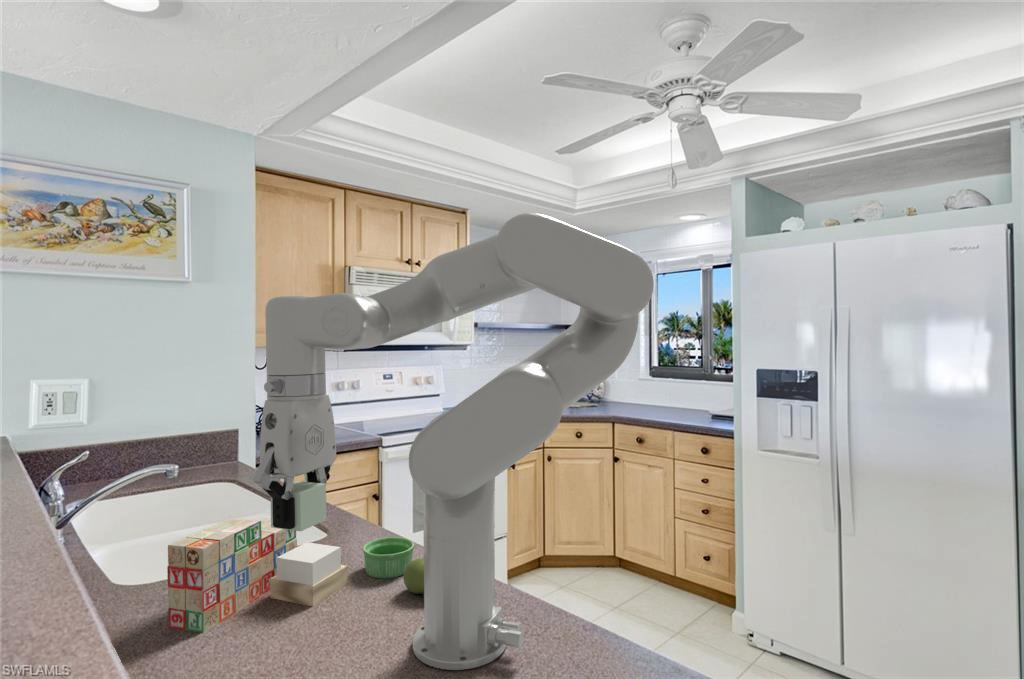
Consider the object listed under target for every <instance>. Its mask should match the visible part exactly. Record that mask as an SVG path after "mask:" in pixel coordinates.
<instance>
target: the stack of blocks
mask: <svg viewBox="0 0 1024 679" xmlns="http://www.w3.org/2000/svg"><path fill="white" fill-rule="evenodd" d="M296 547H298V538H297V531H294V530H286V529H279V528H271V518H265V519H263V520H261V519H249V518H236V517H228V518H226V519H223V520H222V521H220V522H219V521H218V522H217V523H215V524H213V525H210V526H208V527H205V528H203V529H202V530H198V532H195V533H193V534H190V535H188V536H185V537H183V538H180V539H178V540H175V541H174V542H171V543H168V545H167V556H168V557H167V564H168V565H167V572H166V573H167V591H168V592H167V593H168V594H167V596H168V608H167V609H168V610H167V611H168V628H170V629H175V630H183V631H190V632H197V633H202V634H203V633H205V632H206V631H209V630H210V629H211V628H213V627H214V626H216V625H218V624H220V623H222V622H224V620H227V619H228V618H230V617H231V616H232V615H234V614H235V613H238V612H239V611H240V610H242V609H243V608H245V607H247V606H248V605H250V603H252V602H253V601H255V600H257V599H258V598H260V597H261V596H262V595H264V594H265V593H267V592H268V591H270V578H272V577H274V576H276V575H277V557H279V556H281V555H283V554H285V553H287V552H289V551H290V550H292V549H294V548H296Z"/></svg>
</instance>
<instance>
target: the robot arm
mask: <svg viewBox="0 0 1024 679" xmlns="http://www.w3.org/2000/svg"><path fill="white" fill-rule="evenodd" d="M654 286H655V285H654V276H653V273H652V270H651V268H650V265H649V264H648V263H647V262H646V261H645V260H644V258H642V256H640V255H639V254H638V253H636V252H635V251H633V250H631V249H630V248H628V247H625V246H623V245H621V244H618V243H615V242H613V241H611V240H607V239H605V238H603V237H601V236H598V235H596V234H593V233H591V232H588V231H585V230H583V229H580V228H579V227H576V226H574V225H571V224H569V223H566V222H564V221H562V220H559V219H557V218H554V217H552V216H548V215H545V214H542V213H538V212H525V213H524V212H523V213H521V214H517V215H515V216H513V217H511V218H510V219H508V220H507V221H505V223H504V224H503V225H502V226H501V227H500V229H499V232H498V233H497V234H493V235H491V236H489V237H487V238H484V239H481V240H478V241H476V242H473V243H470V244H468V245H464V246H463V247H459V248H457V249H454V250H451V251H447V252H446V253H442V254H440V255H438V256H436V257H434V258H432V260H430V261H429V262H428V263H427V264H426V265H425V267H424V268H423V269H422V270H421V271H420V272H419V273H418V274H416V275H415V276H414V277H412V278H410V279H408V280H407V281H405V282H402V283H399V284H398V285H395V286H393V287H389V288H386V289H384V290H381V291H379V292H376V293H373V294H370V295H367V296H364V295H360V294H355V293H348V292H338V293H330V294H329V293H328V294H324V295H319V296H318V295H317V296H301V295H299V296H298V295H297V296H296V295H291V296H289V295H287V296H276V297H273V298H271V299H269V300H268V301H267V303H266V304H265V313H264V314H265V348H266V349H265V356H266V359H265V361H266V362H265V363H266V366H265V367H266V382H265V383H264V386H263V389H264V391H265V392H266V400H265V401H264V406H263V409H262V415H261V418H262V419H261V424H260V425H261V426H260V439H259V460H260V461H259V462H260V463H259V465H258V467H257V469H256V471H255V472H254V475H253V478H252V481H253V483H255V484H257V486H259V487H261V488H262V489H263V491H264V492H266V493H267V496H268V498H269V499H271V498H272V502H273V526H274V527H276V528H283V529H292V528H294V527H295V504H294V498H291V493H292V487H293V482H295V481H294V480H295V477H299V476H302V475H303V476H304V479H305V480H304V482H312V483H323V484H326V485H327V483H328V482H327V481H328V480H327V477H328V475H329V473H330V471H331V467H332V466H333V464H334V462H335V461H336V459H337V443H336V441H337V439H336V429H335V420H334V412H333V406H332V401H331V398H330V396H329V395H328V394H327V386H326V385H327V384H326V382H327V379H326V377H327V376H326V349H330V350H331V349H333V350H339V351H352V350H360V349H361V350H362V349H363V350H364V349H371V348H374V347H377V346H381V345H384V344H387V343H389V342H393V341H395V340H397V339H400V338H404V337H405V336H409V335H411V334H414V333H417V332H419V331H421V330H425V329H427V328H430V327H432V326H434V325H437V324H441V323H444V322H448V321H450V320H453V319H456V318H458V317H461V316H463V315H466V314H468V313H471V312H474V311H476V310H479V309H482V308H484V307H488V306H489V305H493V304H495V303H498V302H501V301H504V300H506V299H508V298H512V297H515V296H519V295H521V294H524V293H527V292H530V291H532V290H535V289H538V290H541V291H543V292H546V293H547V294H550V295H551V296H552V295H553V296H554V297H556V298H557V297H558V298H560V299H562V300H564V301H566V302H570V303H571V304H573V305H577V306H579V307H580V308H579V312H578V315H577V317H576V319H575V321H574V322H573V323H572V324H571V325H570V326H569V327H568V328H567V329H565V330H564V331H563V332H561V333H560V334H558V335H557V336H556V337H554V338H553V339H552V340H551V341H549V342H548V343H547V344H546V345H544V346H542V347H541V348H539V349H538V350H537V351H535V352H533V354H531V355H529V356H528V357H527V358H525V359H523V360H522V361H520V362H519V363H517V364H514V365H512V366H510V367H508V368H505V369H504V370H502V371H501V372H500V373H499V374H497V376H495V377H494V378H493V379H491V380H490V381H489V382H487V383H486V384H484V385H483V386H481V387H480V388H479V389H477V390H476V391H475V392H472V394H470V395H469V396H468V397H466V398H465V399H463V400H462V401H460V402H459V403H458V404H456V405H454V406H453V407H452V408H450V409H449V410H448V409H447V410H446V411H444V412H441V413H440V414H439V415H437V416H435V417H434V418H433V419H432V420H431V421H430V422H429V423H427V425H426V426H424V427H423V428H422V429H421V430H420V431H419V432H418V433H417V434H416V435H415V437H414V439H413V441H412V444H411V446H410V449H409V454H408V468H409V469H408V470H409V472H410V476H411V478H412V481H413V482H414V483H415V485H416V486H417V487H418V489H419V490H421V491H422V492H423V494H424V495H423V559H424V594H423V602H424V603H423V608H424V610H423V614H424V616H423V618H424V620H423V625H421V626H420V627H419V628H418V629H417V630H416V631H415V633H414V634H413V637H412V651H413V654H414V655H415V656H416V658H417V659H418V660H419V661H421V663H423V664H425V665H428V666H430V667H432V666H433V668H436V669H439V668H440V669H439V670H445V669H446V670H447V671H464V670H465V669H466V670H470V669H476V668H478V667H483V666H485V665H487V664H489V663H491V662H493V661H494V660H496V659H497V658H499V657H500V656H501V655H502V654H503V653H504V651H505V649H506V647H510V648H516V649H522V647H523V644H524V639H525V637H524V636H525V635H524V632H523V631H521V630H522V625H521V623H520V622H514V621H505V618H503V608H502V607H501V606H498V605H497V606H496V587H495V586H496V574H495V573H496V570H495V569H496V563H495V562H496V555H495V553H496V550H495V545H496V544H495V539H496V538H495V529H496V528H495V527H496V523H495V522H496V520H495V518H496V516H495V514H496V513H495V512H496V510H495V505H496V504H495V500H496V499H495V496H496V493H495V491H496V489H495V488H496V487H495V486H496V484H495V483H496V477H498V476H499V475H500V474H501V473H503V472H504V471H506V470H508V469H509V468H510V467H511V466H513V465H515V464H516V463H517V462H519V461H521V460H522V459H523V458H525V457H526V456H527V455H529V454H530V453H532V452H533V451H535V450H536V449H537V448H539V447H540V446H541V445H542V444H544V443H545V441H547V440H548V439H549V438H550V437H551V436H552V435H553V434H554V433H555V431H556V429H557V428H558V426H559V424H560V422H561V419H562V416H563V412H565V411H566V410H568V408H570V407H572V405H574V404H575V403H577V402H579V401H580V400H581V399H582V398H583V397H585V396H586V395H588V394H589V393H590V392H592V390H594V389H595V388H597V387H598V386H600V385H601V384H602V383H603V382H605V381H606V380H607V379H608V378H609V377H611V376H612V375H613V374H614V373H615V372H617V370H618V369H619V368H620V367H621V366H622V365H623V363H624V362H625V361H626V359H627V357H628V356H629V354H630V352H631V350H632V348H633V345H634V342H635V340H636V336H637V333H638V329H639V314H640V313H641V312H642V311H643V310H644V309H645V308H646V306H647V305H648V304H649V302H650V301H651V298H652V296H653V293H654ZM282 479H283V485H282V484H281V480H282Z"/></svg>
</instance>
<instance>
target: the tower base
mask: <svg viewBox="0 0 1024 679" xmlns="http://www.w3.org/2000/svg"><path fill="white" fill-rule="evenodd" d="M348 567H349V566H348V565H346V564H341V568H340V569H339V570H337V571H336V572H334V573H332V574H331V575H329V576H328V577H326V578H324V579H323V580H321V581H320V582H318V583H316V584H315V585H313V586H312V585H306V584H300V583H295V582H289V581H283V580H277V575H276V576H274V577H272V578H270V590H269V592H270V593H269V594H270V595H269V598H270V599H274V600H280V601H283V602H288V603H292V604H293V603H295V604H298V605H299V604H300V605H302V606H303V605H304V606H309V607H315V606H317V605H318V604H319V603H321V602H322V601H324V600H326V599H327V598H328V597H330V596H331V595H334V594H335V593H336V592H337V591H340V589H342V588H344V587H345V586H347V585H349V578H348V576H349V570H348V569H349V568H348Z"/></svg>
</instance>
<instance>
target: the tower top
mask: <svg viewBox="0 0 1024 679" xmlns="http://www.w3.org/2000/svg"><path fill="white" fill-rule="evenodd" d="M341 565H342V547H341V546H337V545H336V546H335V545H327V544H321V543H315V542H314V543H313V542H307V541H306V542H304V543H302V544H301V545H297V547H296V548H294V549H292V550H290V551H289V552H287V553H285V554H283V555H281V556H279V557H277V580H283V581H289V582H295V583H300V584H306V585H312V586H313V585H315V584H316V583H318V582H320V581H321V580H323V579H324V578H326V577H328V576H329V575H331V574H332V573H334V572H336V571H337V570H339V569H340V568H341Z"/></svg>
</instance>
